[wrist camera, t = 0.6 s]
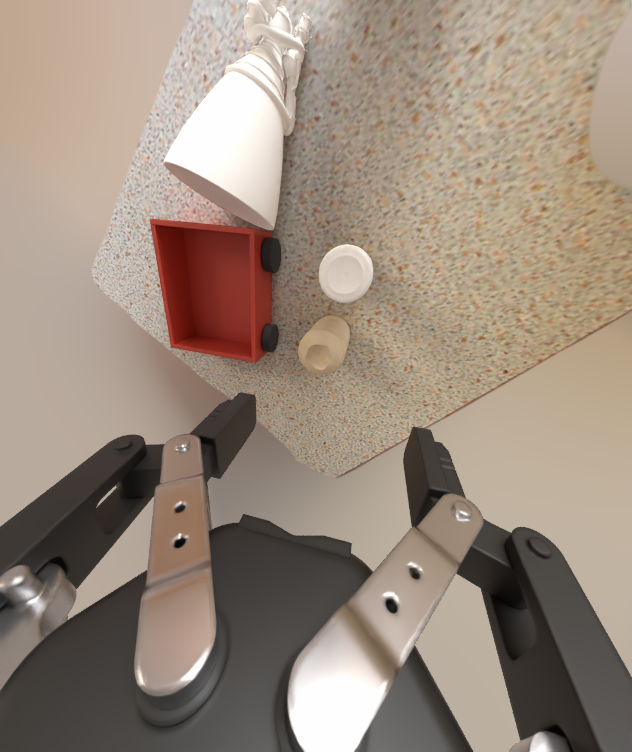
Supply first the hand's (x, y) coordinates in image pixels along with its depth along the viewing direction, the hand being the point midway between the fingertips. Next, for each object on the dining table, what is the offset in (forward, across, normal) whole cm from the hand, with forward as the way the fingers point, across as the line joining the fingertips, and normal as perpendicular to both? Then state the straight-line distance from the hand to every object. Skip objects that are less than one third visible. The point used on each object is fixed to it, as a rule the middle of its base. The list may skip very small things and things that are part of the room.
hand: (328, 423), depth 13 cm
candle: (+25, +3, +3) cm, 26 cm away
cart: (+25, +19, -1) cm, 32 cm away
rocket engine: (+26, +12, -18) cm, 34 cm away
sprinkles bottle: (+26, +1, -6) cm, 26 cm away
